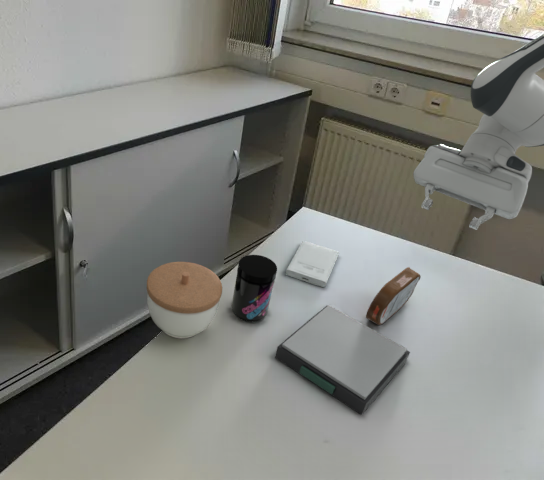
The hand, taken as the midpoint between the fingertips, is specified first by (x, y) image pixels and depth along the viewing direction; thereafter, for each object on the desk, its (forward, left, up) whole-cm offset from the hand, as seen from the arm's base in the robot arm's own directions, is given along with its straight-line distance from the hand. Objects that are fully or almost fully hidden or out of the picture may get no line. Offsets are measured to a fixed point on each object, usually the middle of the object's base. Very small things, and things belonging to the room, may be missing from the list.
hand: (448, 217), depth 105 cm
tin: (0, +17, -15) cm, 23 cm away
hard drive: (+18, +15, -15) cm, 28 cm away
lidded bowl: (+24, +49, -15) cm, 57 cm away
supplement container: (+18, +37, -15) cm, 44 cm away
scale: (0, +35, -15) cm, 38 cm away
